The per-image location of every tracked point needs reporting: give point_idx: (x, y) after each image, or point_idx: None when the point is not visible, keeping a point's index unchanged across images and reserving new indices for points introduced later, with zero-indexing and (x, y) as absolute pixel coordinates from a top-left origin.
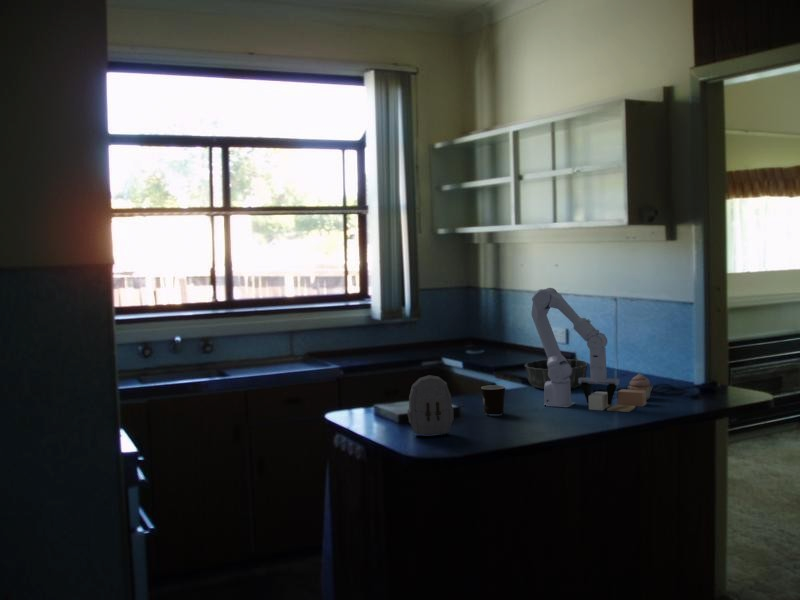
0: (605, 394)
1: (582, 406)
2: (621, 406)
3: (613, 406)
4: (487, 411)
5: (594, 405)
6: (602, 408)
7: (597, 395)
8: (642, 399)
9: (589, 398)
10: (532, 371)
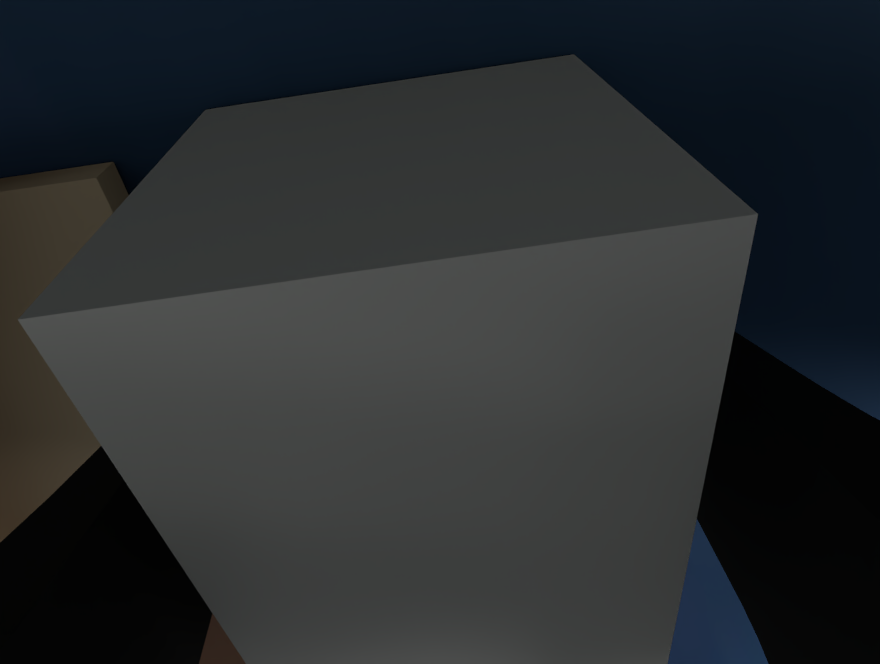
0: (234, 639)
1: (791, 305)
2: (42, 485)
3: None
4: None
5: (418, 114)
6: (196, 137)
7: (382, 450)
8: None
9: (651, 176)
10: None
